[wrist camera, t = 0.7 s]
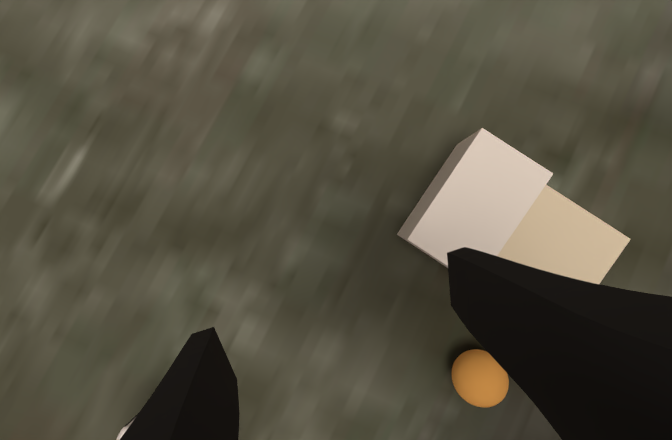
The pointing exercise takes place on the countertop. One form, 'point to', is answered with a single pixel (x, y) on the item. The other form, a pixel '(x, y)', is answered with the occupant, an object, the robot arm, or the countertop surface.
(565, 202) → the mark
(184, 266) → the countertop surface
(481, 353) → the ball
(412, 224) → the white rectangular prism
